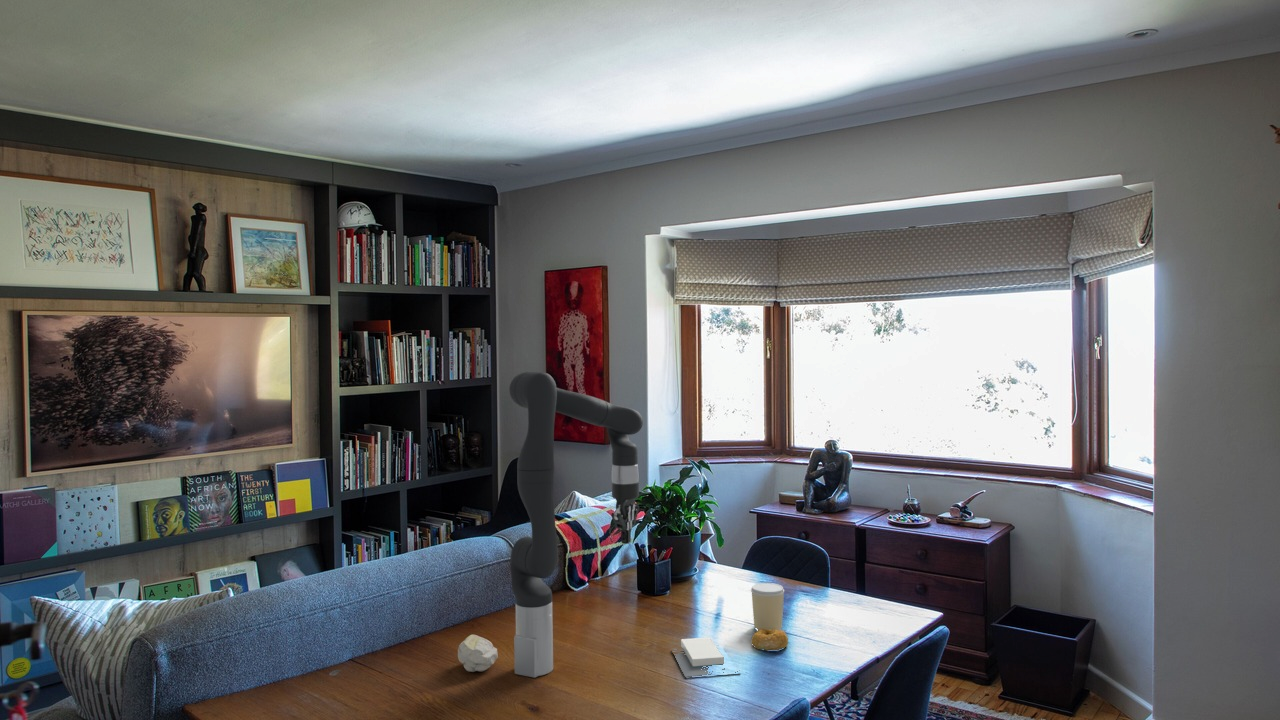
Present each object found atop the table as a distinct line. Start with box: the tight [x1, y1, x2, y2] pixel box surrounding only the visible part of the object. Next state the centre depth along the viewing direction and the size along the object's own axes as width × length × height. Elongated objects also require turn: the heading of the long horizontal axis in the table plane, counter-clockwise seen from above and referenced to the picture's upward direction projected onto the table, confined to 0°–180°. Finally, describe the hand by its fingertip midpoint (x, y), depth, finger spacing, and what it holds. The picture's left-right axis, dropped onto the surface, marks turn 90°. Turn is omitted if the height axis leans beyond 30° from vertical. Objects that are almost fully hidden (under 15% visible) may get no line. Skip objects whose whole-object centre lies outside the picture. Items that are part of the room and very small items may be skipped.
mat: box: [671, 648, 738, 678], centre depth 207 cm, size 18×14×1 cm
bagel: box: [750, 629, 789, 651], centre depth 218 cm, size 10×11×5 cm
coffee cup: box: [750, 582, 785, 630], centre depth 231 cm, size 9×9×12 cm
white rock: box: [457, 634, 499, 673], centre depth 205 cm, size 12×8×10 cm
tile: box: [680, 636, 724, 667], centre depth 210 cm, size 2×8×14 cm
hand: (626, 542), depth 223 cm, fingers closed
